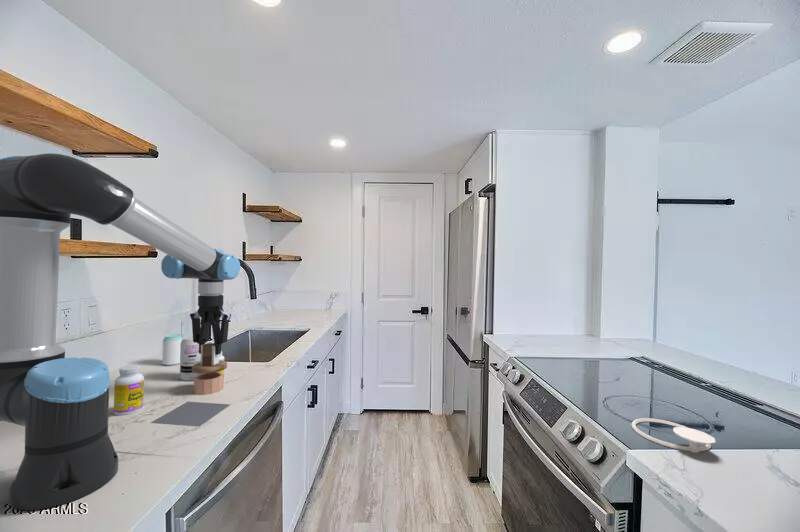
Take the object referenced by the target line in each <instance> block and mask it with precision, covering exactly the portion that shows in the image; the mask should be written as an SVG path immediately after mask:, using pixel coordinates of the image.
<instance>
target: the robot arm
mask: <svg viewBox="0 0 800 532" xmlns="http://www.w3.org/2000/svg"><path fill="white" fill-rule="evenodd" d="M72 215H76V216H80V217H84V218H87V219H89V220H92V221H94V222H96V223H98V224H99V225H103V226H107V225H111V226H113V227H115V228H117V229H119V230H121V231H122V232H124V233H127V234H128V235H130V236H132V237H134V238H136V239H138V240H140V241H141V242H143V243H145V244H147V245H149V246H151V247H153V248H155V249H156V250H158V251H160V252H162V253H163V254H166V255H165V256H164V257H163V258H162V260H161V263H160V264H161V267H160V268H161V272H162V274H163V275H164V277H166V278H168V279H176V280H177V279H178V280H179V279H197V281H198V283H197V284H198V285H197V293H198V296H197V306H198V309H197V311H195V312H192V313H190V314H189V317H190V319H191V326H192V327H191V328H192V331H191V332H192V336H193V342H194V343H195V342H196V343H198V344H199V354H201V365H202V353H203V345H205V343H206V344H208V343H209V342H208V333H209V328H210V327H209V326H211V328H212V330H211V331H212V336H213V343H214V344H213V346H212V365H215V364H217V363H219V354H221V351H222V344H224V343H227V342H228V335H229V326H230V325H229V324H230V320H231V318H232V314H231V313H227V312H225V311H224V308H223V306H224V295H223V293H224V283H225V281H227V280H229V281H231V280H233V279H236V278H237V276H238V275H239V274H240V271H241V262H240V260H239V258H238V257H237V256H235V255H233V254H229V253H224V250H223V249H221V248H213V247H211V246H210V245H209V244H207V243H205V241H202V240H201V239H199V238H197V236H195V235H193V234H191V233H190V232H189V231H187V230H185V229H184V228H183V227H181V226H179V225H178V224H176V223H175V222H174V221H172V220H170V219H168V218H167V217H165V216H164V215H163V214H161V213H159V212H158V211H157V210H154V209H153V208H152V207H150V206H148V205H147V204H146V203H144V202H142V201H141V200H139V199H137V198H136V197H135V193H134V191H133V189H131V188H130V187H129V186H127V185H125V184H123V183H122V182H121V181H119V180H118V179H116V178H114V176H113V177H112V176H111V175H110V174H108V173H106V172H104V171H103V170H101V169H99V168H97V167H95V166H94V165H91V164H90V163H88V162H87V161H84V160H82V159H78V158H75V157H73V156H70V155H65V154H61V153H40V154H33V155H24V156H23V155H14V156H13V155H12V156H6V157H2V158H0V422H5V423H6V422H7V423H9V424H10V423H11V424H14V425H19V426H23V427H24V454H23V458H22V461H21V463H20V465H19V467H18V470H17V472H16V476H15V478H14V480H13V482H12V484H11V486H10V488H9V490H8V491H9V496H8V499H9V500H8V501H9V502H8V503H9V506H10V507H11V508H13V509H15V510H19V511H35V510H43V509H48V508H52V506H53V507H56V506H55V505H57V506H60V505H64V504H67V503H70V502H72V501H73V502H74V501H75V500H78V499H80V498H82V497H85V496H87V495H89V494H91V493H93V492H95V491H96V490H98V489H100V488H102V487H103V486H105V485H106V484H108V483H109V482H110V481H111V480H112V479H113V478H114V477H115V476H116V474H117V473H118V471H119V456H118V454H117V452H116V449H115V448H114V445H113V442H112V441H111V438H110V436H109V409H110V408H109V407H110V406H109V405H110V403H109V402H110V401H109V398H110V385H111V378H110V372H109V367H108V365H107V364H106V362H104V361H102V360H100V359H98V358H97V359H96V358H92V357H66V348H64V347H63V346H62V345H60V344H58V343H57V342H56V339H57V336H56V335H57V314H58V313H57V312H58V296H59V295H58V290H59V289H58V288H59V269H60V267H59V266H60V246H61V245H60V244H61V241H60V240H61V233H62V231H64V230H66V229H67V228H69V227H70V226H71V216H72Z"/></svg>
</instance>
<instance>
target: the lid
mask: <svg viewBox="0 0 800 532" xmlns="http://www.w3.org/2000/svg"><path fill="white" fill-rule="evenodd" d="M207 343H208V344H205V345H203V353H202V365H201V363H197V364H195V365H193V366H192V372H194V373H213V372H218V371H221V370H224V371H225V370H226V369H227V368H228V362H227V361H225V360H224V361H219V363H217V364H215V365H212V346H213V344H214V342H207Z"/></svg>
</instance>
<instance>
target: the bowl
mask: <svg viewBox="0 0 800 532" xmlns="http://www.w3.org/2000/svg"><path fill="white" fill-rule="evenodd" d="M224 377H225V372H224V373H221V372H213V373H203V374H199V375H197V376H195V377H194V380H193V394H195V395H198V396H199V395H200V396H203V395H204V396H205V395H212V394H216V393H219V392H222V391H223V390H224V380H225V379H224Z"/></svg>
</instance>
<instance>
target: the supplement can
mask: <svg viewBox="0 0 800 532" xmlns="http://www.w3.org/2000/svg"><path fill="white" fill-rule="evenodd" d="M182 338H183V339H182V341H181V348H180V364H179V378H180V379H181V380H182V381H185V382H192V381H193V382H194V377H195V376H197V375H199V374H203V373H194V372H192V366H193V365H195V364H197V363H201V354H199V344H198V343H196V342H195V343H194V342H193V335H190V336H185V337H182ZM206 343H207V342H206ZM206 343H205V344H206Z"/></svg>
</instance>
